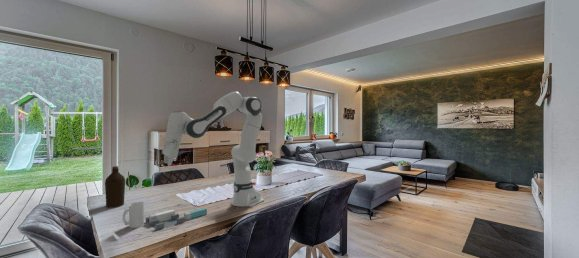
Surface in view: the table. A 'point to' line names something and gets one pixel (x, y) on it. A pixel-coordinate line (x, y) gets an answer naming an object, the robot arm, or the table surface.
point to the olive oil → (115, 188)
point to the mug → (135, 215)
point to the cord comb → (165, 222)
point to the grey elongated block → (162, 216)
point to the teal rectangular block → (195, 213)
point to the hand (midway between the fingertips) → (167, 164)
